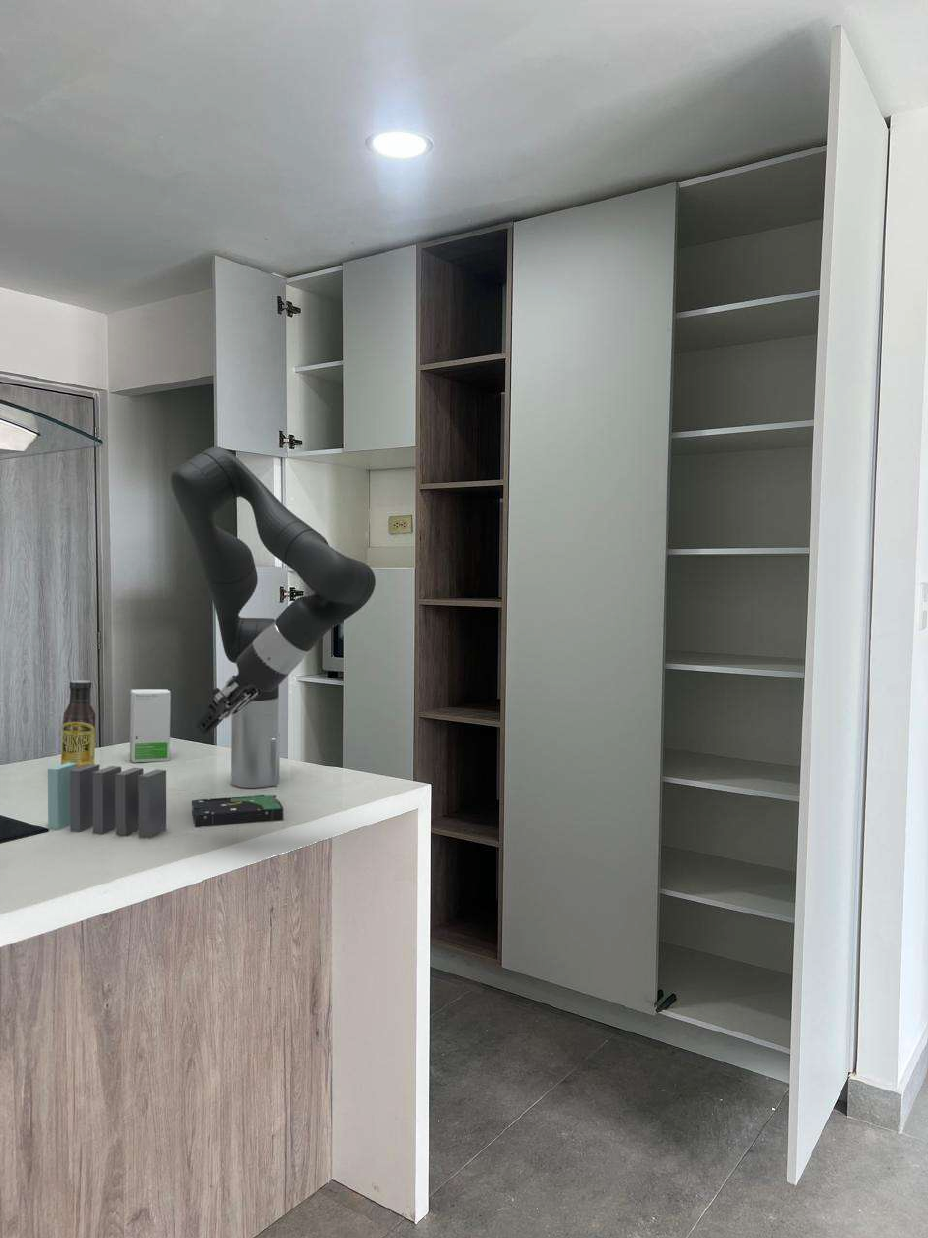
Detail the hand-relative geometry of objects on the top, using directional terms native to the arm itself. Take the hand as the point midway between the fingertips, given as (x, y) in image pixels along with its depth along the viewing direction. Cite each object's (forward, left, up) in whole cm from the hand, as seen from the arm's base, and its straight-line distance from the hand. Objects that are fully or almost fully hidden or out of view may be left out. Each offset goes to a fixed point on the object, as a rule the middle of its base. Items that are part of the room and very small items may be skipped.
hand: (202, 729), depth 144 cm
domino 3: (+16, -6, -18) cm, 25 cm away
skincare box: (+23, -62, -18) cm, 68 cm away
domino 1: (+24, -9, -18) cm, 31 cm away
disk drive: (-3, -14, -18) cm, 23 cm away
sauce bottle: (+33, -44, -18) cm, 57 cm away
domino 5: (+9, -3, -18) cm, 20 cm away
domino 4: (+12, -5, -18) cm, 22 cm away
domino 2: (+20, -8, -18) cm, 28 cm away
